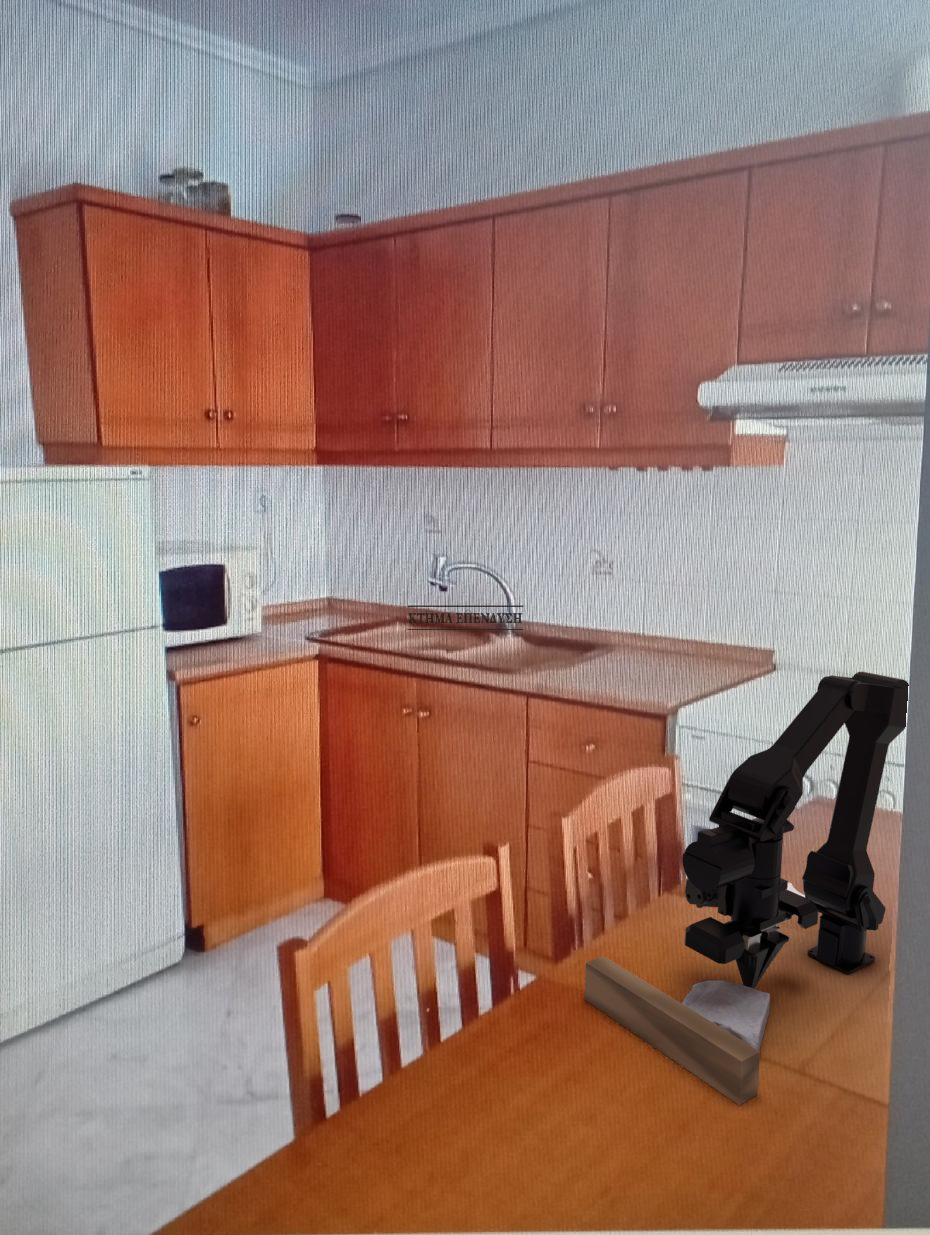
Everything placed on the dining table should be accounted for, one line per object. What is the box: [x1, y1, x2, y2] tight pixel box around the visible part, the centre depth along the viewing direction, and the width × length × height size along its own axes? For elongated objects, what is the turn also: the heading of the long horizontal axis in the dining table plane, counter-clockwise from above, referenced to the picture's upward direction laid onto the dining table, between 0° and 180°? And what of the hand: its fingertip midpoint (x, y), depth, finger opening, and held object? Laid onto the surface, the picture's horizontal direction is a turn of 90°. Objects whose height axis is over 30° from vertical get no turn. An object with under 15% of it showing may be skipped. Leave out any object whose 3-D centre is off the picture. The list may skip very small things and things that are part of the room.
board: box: [584, 955, 761, 1106], centre depth 109 cm, size 3×24×5 cm, turn 35°
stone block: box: [681, 979, 771, 1051], centre depth 112 cm, size 12×5×10 cm
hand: (749, 987), depth 118 cm, fingers closed
